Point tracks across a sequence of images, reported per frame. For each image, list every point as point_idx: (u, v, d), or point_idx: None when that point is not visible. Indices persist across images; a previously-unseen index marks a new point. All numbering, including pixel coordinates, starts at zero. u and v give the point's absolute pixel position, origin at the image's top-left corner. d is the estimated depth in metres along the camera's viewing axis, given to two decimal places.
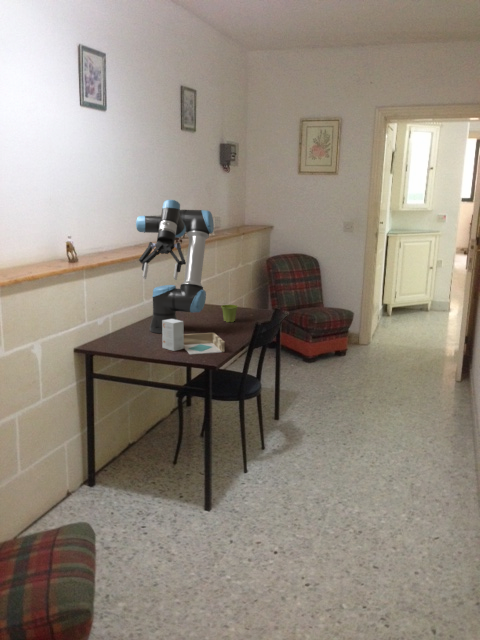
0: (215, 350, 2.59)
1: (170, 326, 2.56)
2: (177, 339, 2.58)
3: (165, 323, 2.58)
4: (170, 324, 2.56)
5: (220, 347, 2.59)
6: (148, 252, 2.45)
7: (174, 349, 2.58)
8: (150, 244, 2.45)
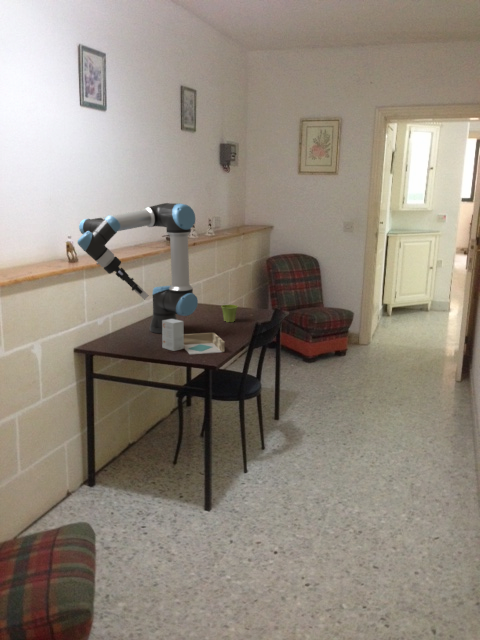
0: (215, 350, 2.59)
1: (170, 326, 2.56)
2: (177, 339, 2.58)
3: (165, 323, 2.58)
4: (170, 324, 2.56)
5: (220, 347, 2.59)
6: None
7: (174, 349, 2.58)
8: None
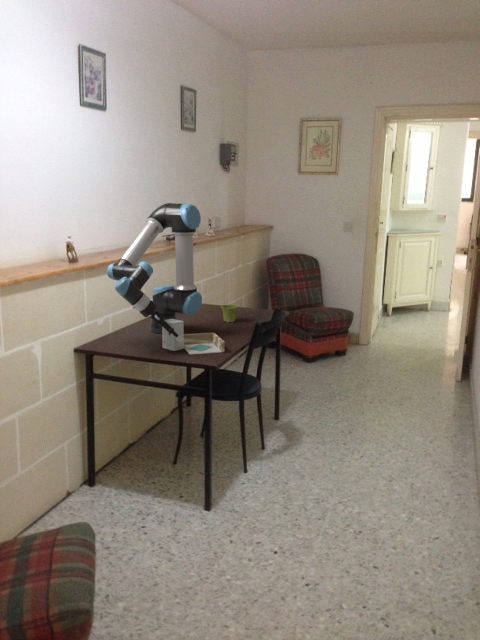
0: (215, 350, 2.59)
1: (170, 325, 2.56)
2: None
3: None
4: (170, 324, 2.56)
5: (220, 347, 2.59)
6: None
7: (174, 349, 2.58)
8: None
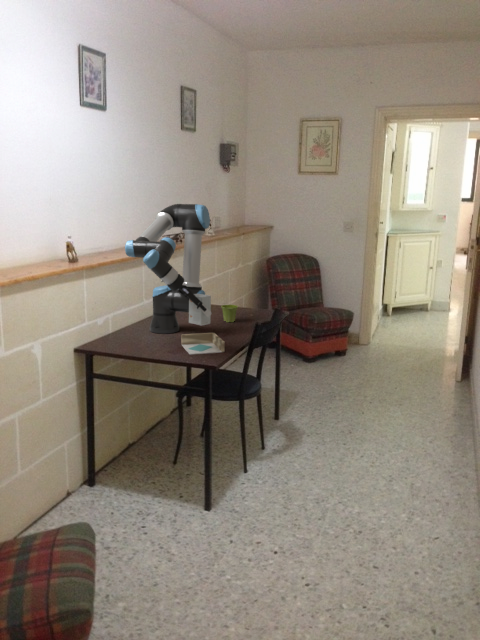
0: (215, 350, 2.59)
1: None
2: None
3: None
4: (198, 298, 2.54)
5: (220, 347, 2.59)
6: None
7: (201, 323, 2.55)
8: (177, 289, 2.59)
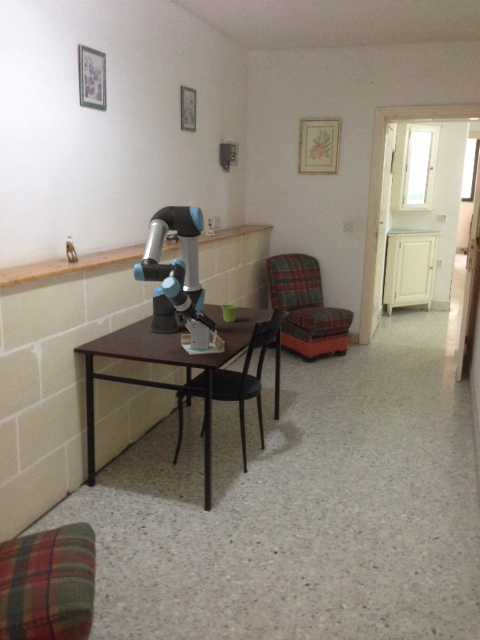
0: (215, 350, 2.59)
1: (203, 325, 2.57)
2: (208, 337, 2.60)
3: (196, 323, 2.57)
4: None
5: (220, 347, 2.59)
6: (180, 315, 2.57)
7: (208, 347, 2.59)
8: (177, 313, 2.54)
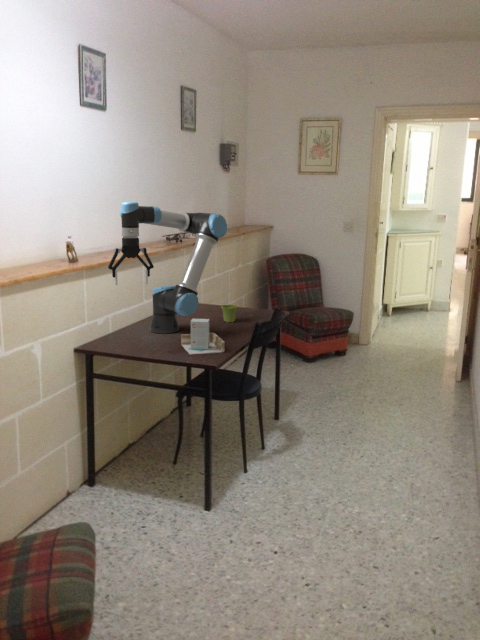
0: (215, 350, 2.59)
1: (203, 325, 2.57)
2: (208, 337, 2.60)
3: (196, 323, 2.57)
4: (203, 323, 2.56)
5: (220, 347, 2.59)
6: (115, 258, 2.55)
7: (208, 347, 2.59)
8: (117, 251, 2.53)
